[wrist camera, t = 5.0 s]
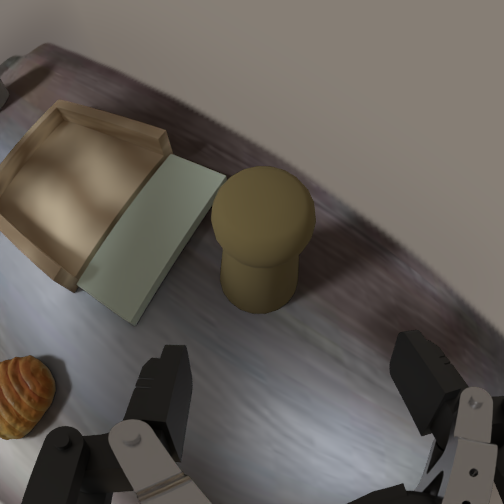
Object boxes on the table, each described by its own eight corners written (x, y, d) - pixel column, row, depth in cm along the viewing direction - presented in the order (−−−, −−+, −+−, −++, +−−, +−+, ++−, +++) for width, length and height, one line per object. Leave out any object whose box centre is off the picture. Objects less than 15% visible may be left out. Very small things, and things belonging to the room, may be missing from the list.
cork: (224, 319, 23) (203, 269, 13) (215, 245, 25) (194, 155, 15) (304, 307, 23) (346, 249, 13) (289, 235, 25) (312, 143, 15)
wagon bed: (74, 293, 23) (53, 280, 20) (-10, 216, 26) (-27, 201, 23) (173, 154, 29) (166, 130, 26) (68, 118, 32) (58, 99, 29)
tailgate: (83, 288, 23) (135, 326, 22) (76, 284, 22) (129, 323, 21) (173, 161, 28) (226, 183, 27) (170, 153, 27) (226, 175, 26)
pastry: (39, 338, 22) (13, 330, 18) (73, 405, 20) (48, 407, 16) (-13, 384, 19) (-38, 381, 16) (16, 445, 17) (-10, 449, 14)
